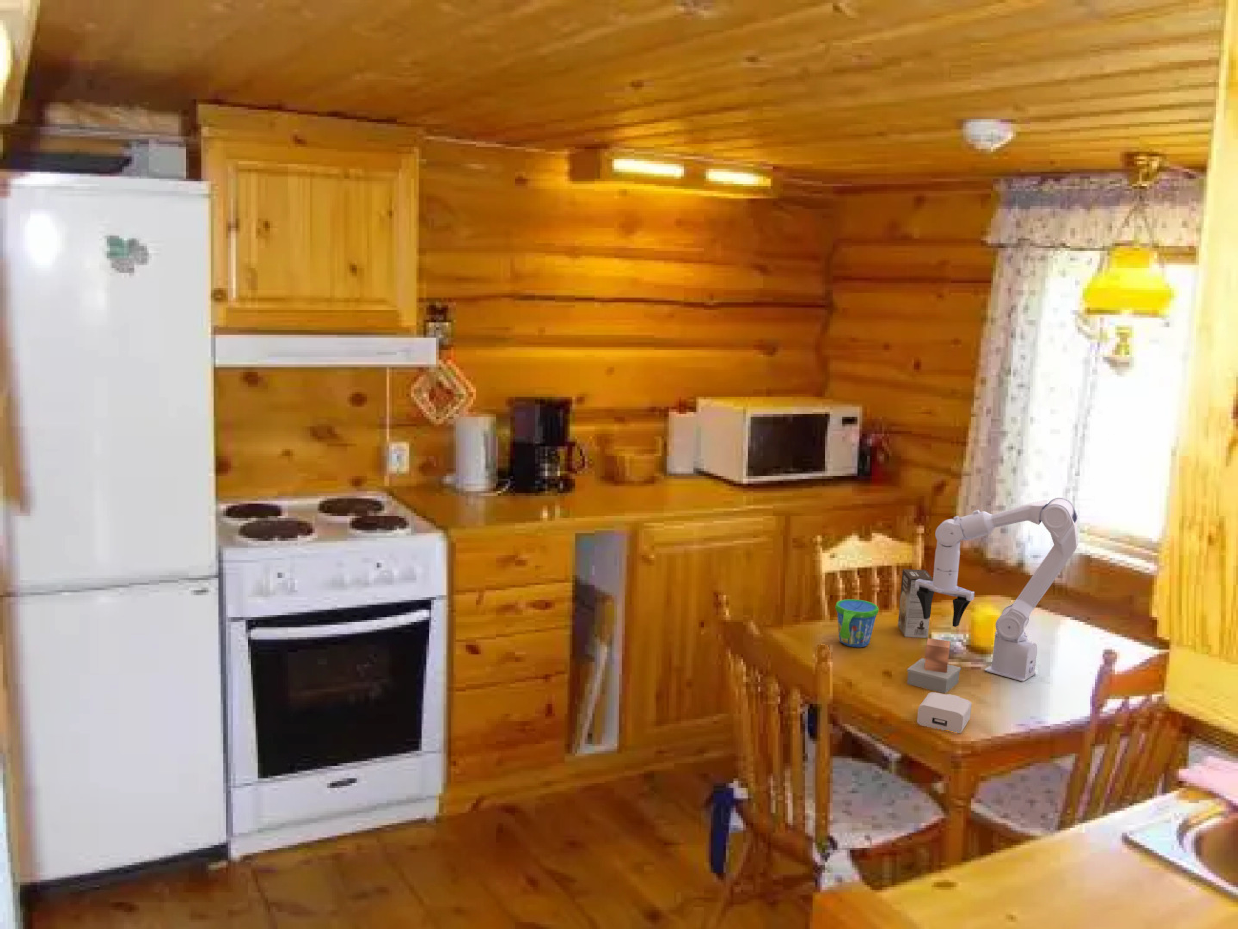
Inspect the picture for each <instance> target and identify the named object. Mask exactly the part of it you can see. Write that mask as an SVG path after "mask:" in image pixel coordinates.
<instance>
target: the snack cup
mask: <svg viewBox="0 0 1238 929" xmlns="http://www.w3.org/2000/svg"><path fill="white" fill-rule="evenodd" d="M834 607H835V610H836V613H837V627H838V638H839V643H841V644H843V645H844V646H847V647H853V648H865V647H867V646H868V645H869V644H870V642H871V638H872V633H873V631H874V630H873V629H874V627H875V622H876V617H877V615H878V613H879V610H880V608H879V607H878V605H877V604H875V603H873V602H871V601H867V600H862V599H857V598H855V599H851V598H850V599H849V598H847V599H841V600H838V601H836V602H835V606H834Z"/></svg>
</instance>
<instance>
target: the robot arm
mask: <svg viewBox="0 0 1238 929" xmlns="http://www.w3.org/2000/svg"><path fill="white" fill-rule="evenodd" d="M1078 519H1079V518H1078V513H1077V511H1076V509H1075V506H1074V504H1073V503H1072V502H1071V501H1070V500H1069V499H1067V498H1064V497H1055V498H1053V499H1051V500H1049V499H1042V500H1037V501H1033V502H1029V503H1027V504H1022V505H1019V506H1016V507H1013V508H1009V509H1006V510H1003V511H999V512H996V513H993V514H991V513H989V512H987V511H985V510H982V511H980V509H976V510H974V511H973V512H972V514H968V515H965V516H964V515H963V516H959V515H956V516H954V517H953V518H950V519H949V518H948V519H945V520H943V521H942V522H941V523H940V524H939V525H938V526H937V527H936V529H935V539H936V548H935V553H934V566H933V575H932V576H933V577H932V578H933V581H928V580H922V579H918V580H916V581H915V588H919V591H917V596H918V598H919V600H920V603H921V606H922V610H923V617H924V619H928V618H931V615H932V603H933V598H934V594H935V593H938V594H943V595H947V596H951V597H955V598H954V599H953V600H952V606H953V616H952V627H954V628H956V627H958V626H960V623H961V620H962V616H963V615H964V612H965V610H966V609H967V607H968V606H969V604H970V603H971V601H973V600H975V591H972V590H969V589H966V588H963V587H960V586H958V578H959V570H960V569H959V566H960V557H961V556H960V555H961V541H970V540H973V539H977V538H981V537H985V536H989V535H992V533H993V532H994V530H995V528H999V527H1003V526H1004V527H1005V526H1007V525H1013V524H1018V523H1022V522H1027V521H1028V522H1030V523H1033V524H1035V525H1039V526H1040V524H1041V523H1042V525H1043V526H1044V528H1046V530H1047V531H1048V532H1049V534H1050V538H1051V540H1052V542H1053V543H1052V544H1053V546H1052V547H1051V549H1050V550H1049V551H1048V553H1047V555H1046V556H1045V558H1044V559H1043V560H1042V562H1041V563H1040V564H1039V566H1038V568H1036V570H1035V572H1034V573H1033V575H1031V578H1030V579H1029V580H1028V582H1027V583H1026V585H1025V586H1024V588H1023V589H1022V591H1021V592H1020V594H1019V595H1018V596H1017V598H1016V599H1015V601H1014V602H1013V603H1012V604H1010V605H1008V606H1006V607H1005V608H1004V609H1002V613H1001V615H1000V616H999V617H998V618H997V619H996V621H995V632H994V640H993V641H994V642H993V651H992V658H991V659H992V660H991V664H990V665H989V666H988V667H986V668H985V669H984V671H985V672H988V673H992V674H995V675H999V676H1001V677H1005V678H1009V679H1013V680H1015V681H1020V682H1024V681H1026V680H1028V679H1029V678H1031V677H1032V676H1034V675H1036V674H1037V672H1036V665H1037V664H1036V663H1037V657H1038V656H1037V654H1038V645H1037V643H1036V642H1034V641H1031V640H1030V639H1028V635H1027V634H1026V631H1025V628H1026V627H1027V626H1028V623H1029V621H1030V616H1031V614H1032V613H1033V611H1034V609H1036V607H1037V606H1038V603H1039V602H1040V601H1041V600H1042V598H1043V597H1044V595H1045V594H1046V593H1047V591H1048V590H1049V588H1050V587H1051V585H1052V584H1053V582H1054V581H1055V580H1056V579H1057V577H1058V575H1059V574H1060V572H1061V571H1062V570H1063V568H1064V567H1065V566H1066V564H1067V563H1068V561H1069V559H1070V558H1071V557H1072V555H1073V554H1074V553H1075V551H1077V550H1076V549H1077V547H1078V544H1079V536H1078V535H1079V533H1078V532H1079V530H1078Z"/></svg>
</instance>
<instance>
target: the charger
mask: <svg viewBox="0 0 1238 929" xmlns="http://www.w3.org/2000/svg"><path fill="white" fill-rule="evenodd" d="M971 713H972V702H971V701H970V700H968V699H967V698H962V697H960V696H959V695H955V694H949V693H941V692H936V691H933V692H932V691H931V692H929V693H928V694H927V695H926V697H924V699H923V700H922V702H921V703H920V704H919V706H918V708H917V719H916V722H917V724H918V725H919V726H921V727H922V726H923V727H926V726H927V728H930V727H931V729H936V728H937V729H936V730H939V729H941V730H940V731H944V730H949V731H953V732H957V733H960V734H962V732H963V730H964V729H965V728H966V725H967V724H968V723H969V721H970V718H971ZM957 733H956V734H957Z"/></svg>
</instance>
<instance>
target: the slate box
mask: <svg viewBox="0 0 1238 929" xmlns="http://www.w3.org/2000/svg"><path fill="white" fill-rule="evenodd" d="M924 668H925V658H923V657H922V658H920V659H919V660H917V661H916V662H915V663H913V664H912V665H911V666H909V667H907V669H906V672H907V673H908V674H907V680H906V681H907V684H906V685H910V686H914V687H918V688H921V687H922V689H925V688H926V690H929V691H933V692H936V693H940V694H948V692H949V691H951V689H952V688H954V687H955V686H956V685H957V684H958V683H959V681H960V680H959V678H960V671H961V669H962V668H961V667H960V666H956V665H952V664H948V667H947V673H944V672H938V671H931V670H924Z"/></svg>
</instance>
